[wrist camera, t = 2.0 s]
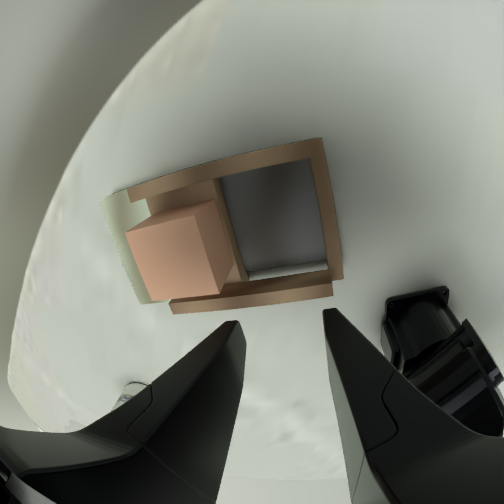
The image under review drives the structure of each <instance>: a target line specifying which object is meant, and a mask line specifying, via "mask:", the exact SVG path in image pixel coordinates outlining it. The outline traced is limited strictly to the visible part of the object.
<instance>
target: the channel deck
mask: <svg viewBox="0 0 504 504" xmlns="http://www.w3.org/2000/svg"><path fill="white" fill-rule="evenodd" d="M212 199H215V203H216V206H217V210H218V213H219V217H220V220H221V224H222V227H223V231H224V234H225V238H226V241H227V245H228V248H229V252H230V255H231V259H232V262H233V267H232V269H231V271H230V273H229V275H228V277H227V279H226V281H225V283H224V285H223V287H222V290H221V292H220V294H213V295H205V296H196V297H186V298H177V299H167V300H157V301H152V299H151V297H150V295H149V292H148V290H147V288H146V286H145V283H144V281H143V278H142V276H141V274H140V271H139V269H138V266H137V264H136V261H135V259H134V256H133V254H132V251H131V248H130V246H129V243H128V240H127V238H126V235H125V232H127V231H128V230H130V229H131V228H133V227H134V226H136V225H137V224H139V223H141V222H142V221H144V220H145V219H147V218H149V217H150V216H152V215H154V214H157V213H161V212H165V211H168V210H172V209H176V208H180V207H184V206H187V205H191V204H195V203H199V202H204V201H208V200H212ZM100 203H101V206H102V209H103V212H104V215H105V218H106V221H107V224H108V227H109V229H110V232H111V235H112V238H113V240H114V243H115V246H116V248H117V251H118V253H119V256H120V258H121V261H122V263H123V266H124V268H125V271H126V273H127V275H128V278H129V280H130V282H131V285H132V287H133V289H134V291H135V294H136V296H137V298H138V300H139V302H140V304H150V303H161V302H169V306H170V308H171V311H172V313H173V314H183V313H196V312H207V311H218V310H228V309H238V308H247V307H256V306H264V305H272V304H280V303H288V302H295V301H302V300H309V299H316V298H322V297H329V296H333V288H332V281H334V280H340V279H344V275H343V266H342V257H341V248H340V240H339V233H338V226H337V219H336V212H335V206H334V200H333V194H332V188H331V182H330V177H329V172H328V166H327V161H326V156H325V152H324V147H323V142H322V138H316V139H310V140H305V141H300V142H295V143H290V144H285V145H280V146H275V147H270V148H265V149H261V150H256V151H252V152H248V153H244V154H240V155H236V156H232V157H228V158H224V159H220V160H215V161H212V162H208V163H204V164H201V165H198V166H194V167H191V168H187V169H184V170H181V171H178V172H174V173H171V174H168V175H165V176H162V177H159V178H156V179H153V180H150V181H147V182H144V183H141V184H139V185H136V186H133V187H130V188H128V189H125V190H122V191H120V192H117V193H114V194H112V195H109V196H107V197H104V198H102V199H100ZM321 260H327V265H328V269H326V270H320V271H314V272H307V273H301V274H294V275H288V276H281V277H274V278H268V279H261V280H254V281H249V278H248V274H247V272H251V271H257V270H264V269H271V268H277V267H284V266H290V265H296V264H303V263H309V262H315V261H321Z"/></svg>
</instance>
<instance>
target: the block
mask: <svg viewBox="0 0 504 504" xmlns="http://www.w3.org/2000/svg"><path fill="white" fill-rule="evenodd" d="M125 235H126V238H127V240H128V243H129V246H130V248H131V251H132V254H133V256H134V259H135V261H136V264H137V266H138V269H139V271H140V274H141V276H142V278H143V281H144V283H145V286H146V288H147V290H148V292H149V295H150V297H151V299H152V301H157V300H167V299H177V298H186V297H196V296H205V295H213V294H220V292H221V290H222V287H223V285H224V283H225V281H226V279H227V277H228V275H229V273H230V271H231V269H232V267H233V262H232V259H231V255H230V252H229V248H228V245H227V241H226V238H225V234H224V231H223V227H222V224H221V220H220V217H219V213H218V210H217V206H216V203H215V199H212V200H208V201H204V202H199V203H195V204H191V205H187V206H184V207H180V208H176V209H172V210H168V211H165V212H161V213H157V214H154V215H152V216H150V217H149V218H147V219H145V220H144V221H142V222H141V223H139V224H137V225H136V226H134V227H133V228H131V229H130V230H128V231H127V232H125Z"/></svg>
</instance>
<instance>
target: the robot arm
mask: <svg viewBox="0 0 504 504" xmlns="http://www.w3.org/2000/svg"><path fill="white" fill-rule="evenodd" d="M444 291H445V292H444ZM443 292H444V293H443ZM448 298H449V289H448V288H447V287H446V286H443V287H439V288H435V289H431V290H426V291H422V292H417V293H413V294H408V295H403V296H399V297H394V298H390V299H388V300H387V301H386V303H385V320H384V321H383V322H382V326H381V345H382V348H383V351H384V355H385V356H384V355H383V354H382V353H381V352H380V351H379V350H378V349H377V348H376V347H375V346H374V345H373V344H372V343H371V342H370V341H369V340H368V339H367V338H366V337H365V336H364V335H363V334H362V333H361V332H360V331H359V330H358V329H357V328H356V327H355V326H354V325H353V324H352V323H351V322H350V321H349V320H348V319H347V318H346V317H345V316H344V315H343V314H342V313H341V312H340V311H339V310H338V309H337V308H330V309H324V310H323V312H322V313H323V323H324V334H325V342H326V352H327V361H328V372H329V380H330V386H331V391H332V395H333V400H334V405H335V410H336V415H337V420H338V425H339V431H340V436H341V442H342V447H343V453H344V459H345V465H346V471H347V477H348V484H349V490H350V497H351V502H352V504H504V437H502V436H503V430H504V398H503V396H502V394H501V392H500V390H499V388H498V385H499V384H500V383H501V382H502V381H504V377H503V375H502V373H501V371H500V369H499V368H498V366H497V364H496V362H495V360H494V359H493V357H492V355H491V354H490V352H489V350H488V349H487V347H486V346H485V344H484V342H483V341H482V339H481V338H480V337H479V335H478V334H477V332H476V331H475V329H474V328H473V327H472V325H471V324H470V322H469V321H468V320H467V318H466V319H465V320H464V321H463V322H462V325H461V324H460V323H459V321H458V320H457V318H456V317H455V315H454V314H453V312H452V311H451V309H450V308H449V307H448V305H447V304H448ZM391 303H393V304H392V305H390V304H391ZM245 357H246V339H245V336H244V334H243V331H242V328H241V325H240V323H239V321H237V320H234V321H226V322H224V323H223V324H222V325H221V326H219V327H218V328H217V329H216V330H215V331H214V332H212V333H211V334H210V335H209V336H208V337H207V338H205V339H204V340H203V341H202V342H201V343H199V344H198V345H197V346H196V347H195V348H193V349H192V350H191V351H190V352H189V353H187V354H186V355H185V356H184V357H183V358H181V359H180V360H179V361H178V362H176V363H175V364H174V365H173V366H172V367H170V368H169V369H168V370H167V371H165V372H164V373H163V374H162V375H160V376H159V377H158V378H157V379H155V380H154V381H153V382H152V383H151V384H149V385H148V386H147V387H145V388H144V389H143V390H141V391H140V392H139V393H137V394H136V395H135V396H133V397H132V398H131V399H129V400H128V401H127V402H125V403H124V404H122V405H121V406H119V407H118V408H116V409H115V410H113V411H111V412H110V413H108V414H107V415H105V416H103V417H102V418H100V419H99V420H97V421H95V422H94V423H92V424H90V425H89V426H87V427H85V428H83V429H81V430H79V431H76V432H70V433H49V432H34V431H23V430H15V429H9V428H4V427H2V426H0V504H216V500H217V495H218V492H219V488H220V484H221V479H222V475H223V471H224V467H225V463H226V459H227V455H228V450H229V446H230V442H231V438H232V433H233V429H234V425H235V420H236V416H237V411H238V407H239V403H240V398H241V394H242V388H243V381H244V369H245Z"/></svg>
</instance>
